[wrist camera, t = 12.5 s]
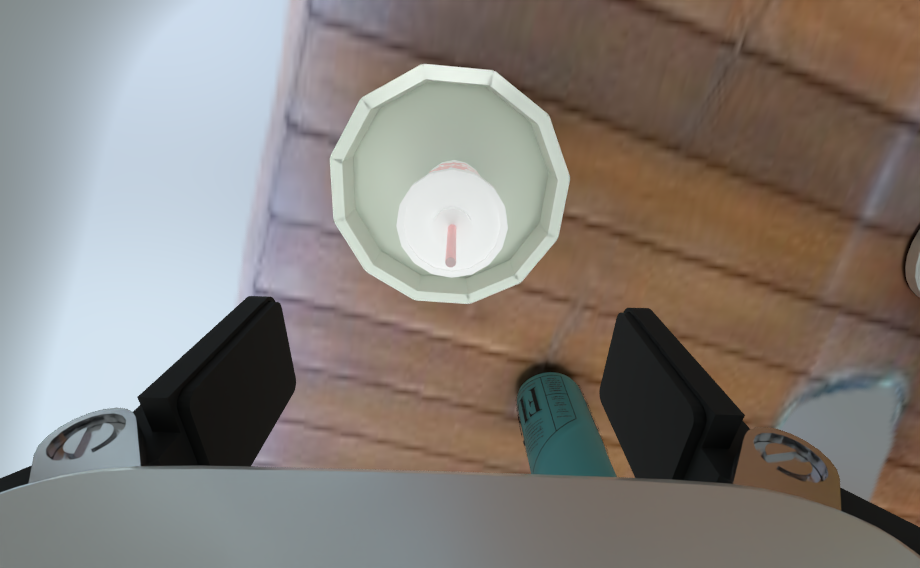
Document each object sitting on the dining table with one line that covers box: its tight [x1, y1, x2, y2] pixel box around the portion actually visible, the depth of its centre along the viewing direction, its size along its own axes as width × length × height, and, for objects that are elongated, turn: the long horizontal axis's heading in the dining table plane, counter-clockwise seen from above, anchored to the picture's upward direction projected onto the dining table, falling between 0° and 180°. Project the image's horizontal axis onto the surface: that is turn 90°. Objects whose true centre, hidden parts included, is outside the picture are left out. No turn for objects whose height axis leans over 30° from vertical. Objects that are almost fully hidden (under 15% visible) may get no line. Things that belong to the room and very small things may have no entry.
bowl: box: [330, 64, 570, 304], centre depth 28 cm, size 16×16×4 cm
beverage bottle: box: [516, 372, 617, 477], centre depth 30 cm, size 6×7×20 cm
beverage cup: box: [396, 160, 508, 278], centre depth 23 cm, size 6×6×14 cm
